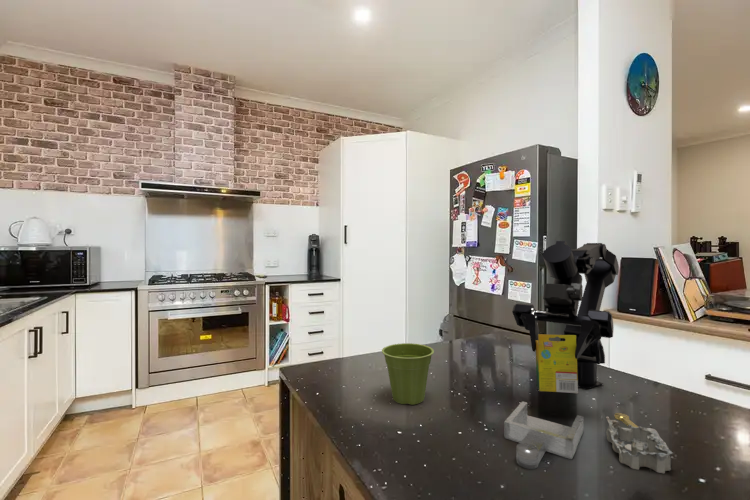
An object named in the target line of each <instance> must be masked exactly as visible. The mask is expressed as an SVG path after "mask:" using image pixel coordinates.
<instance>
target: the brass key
mask: <svg viewBox="0 0 750 500" xmlns="http://www.w3.org/2000/svg"><path fill="white" fill-rule="evenodd" d="M614 420H616V421H618V422H622V423H623V424H624V425H626V426H627V427H628V425H632V426H633V427H639V426H638V425H637V424H635V423H634V422H633V421H632V420H630V416H629V415H627V414H626V413H621V412H615V413H614Z"/></svg>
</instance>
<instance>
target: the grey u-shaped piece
mask: <svg viewBox="0 0 750 500" xmlns="http://www.w3.org/2000/svg"><path fill="white" fill-rule="evenodd" d="M503 424H504V425H503V426H504V428H503V429H504V432H503V434H504V435H503V438H504V439H505V440H506V439H507V440H509V441H512V442H515V443H518V444H517V445H516V464H517V465H518V466H520V467H522V468H524V469H527V470H535V469H538V467H539V464H540V462H541V460H542V458H543V456H544V455H545V453H546V452H548V453H551V454H552V455H556V456H560V457H562V458H565V459H569V460H573V457H574V456H575V453H576V451H577V450H578V449H577V448H578V447H579V443H580V442H581V438H582V436H583V434H584V416H582V415H578V414H577V415H576V417H575V419H574V421H573V422H572V425H571V426H568V425H565V424H560V423H557V422H554V421H550V420H546V419H543V418H539V417H535V416H531V415H528V402H526V401H521V402H520V403H519V404H518V405H517V407H516V408H515V409H514V410H513V411H512V412H511V413H510V415H508V417H507V418H506V419H505V421H503Z"/></svg>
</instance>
